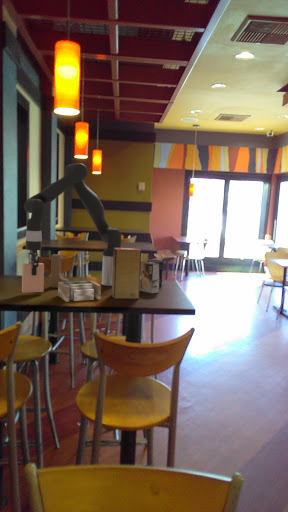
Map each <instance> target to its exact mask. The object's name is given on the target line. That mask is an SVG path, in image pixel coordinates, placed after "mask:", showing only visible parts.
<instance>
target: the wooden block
mask: <svg viewBox="0 0 288 512" xmlns="http://www.w3.org/2000/svg"><path fill="white" fill-rule="evenodd" d="M62 257H63V256H62V254H59V253H57V254H56V253H53V254H51V257H50V259H51V260H50V288H53V289H54V288H55V289H58V282H70V280H69V279H68V278H65V277H64V276H63V274H62V264H63V263H62V259H63V258H62Z"/></svg>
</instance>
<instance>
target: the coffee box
mask: <svg viewBox="0 0 288 512" xmlns="http://www.w3.org/2000/svg"><path fill="white" fill-rule="evenodd" d="M159 277H160V264H158V263H152V262H147V261H144V262H141V266H140V286H139V292H143V293H148V294H157V293H159V291H160V287H159Z"/></svg>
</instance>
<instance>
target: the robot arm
mask: <svg viewBox="0 0 288 512" xmlns="http://www.w3.org/2000/svg"><path fill="white" fill-rule="evenodd" d="M88 173H89V172H88V167H87V166H86V165H85V164H83V163H80V162H77V163H70V164H67V165H66V166H65V168H64V176H63V177H61V178H59V179H58V180H55V181H54V182H52V183H50V184H49V185H48V186H46V187H45V188H43V189H42V190H41V191H40V192H38V193H37V194H35V195H33V196H31V197H29V198H27V200H26V201H25V202H24V205H23V207H24V211H25V212H26V213H29V214H31V215H30V218H28V219H26V232H25V250H27V251H29V253H27V257H28V259H27V261H28V264H29V263H32V275H36V273H37V267H38V263H40V256H39V253H38V251H40V250H42V247H43V246H42V245H43V244H42V242H43V241H42V240H43V237H42V223H43V219H44V214H45V212H46V211H45V210H46V209H45V205H49V204H50V203H52V202H53V201H55V200H56V199H57V198H59V196H61V195H62V194H63V193H64V192H66V191H67V190H68V189H70V188H71V187H72V188H73V189H74V191H75V193H76V194H77V196H78V198H79V199H80V201H81V203H82V204H83V207H84V208H85V210H86V213H87V214H88V215H89V217H90V219H91V220H92V222H93V224H94V226H95V227H96V230H97V232H98V234H99V236H100V239H101V240H102V242H104V243H105V244H107V246H106V249H104V250H103V251H102V263H101V264H102V268H101V286H105V287H106V286H107V287H112V274H113V251H114V248H122V246H121V245H122V233H121V231H120V229H118V228H113V227H110V225H109V223H108V222H107V221H106V218H105V217H106V216H105V208H104V205H103V203H102V201H101V200H100V198H99V196H98V194H96V192H94V191H93V190H92V189H90V188H89V187H88V186H87V184H86V183H85V181H84V180H85V179H86V178H87V176H88ZM35 263H36V265H34V264H35Z"/></svg>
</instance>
